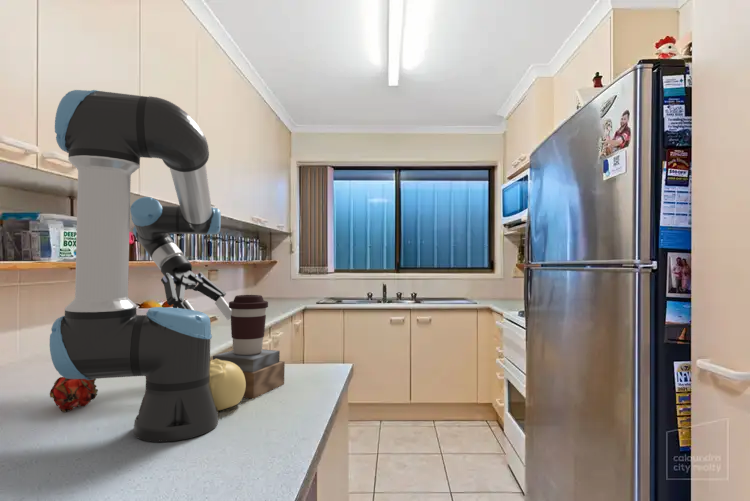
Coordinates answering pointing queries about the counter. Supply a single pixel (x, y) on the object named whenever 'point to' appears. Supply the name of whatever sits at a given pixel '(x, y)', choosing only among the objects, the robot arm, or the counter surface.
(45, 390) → the counter surface
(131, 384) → the counter surface
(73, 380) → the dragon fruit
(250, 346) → the coffee cup
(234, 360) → the gray topped wooden block
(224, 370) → the pale yellow round lump
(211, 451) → the counter surface
